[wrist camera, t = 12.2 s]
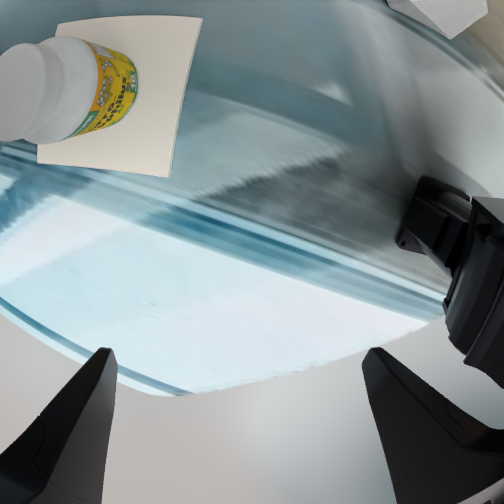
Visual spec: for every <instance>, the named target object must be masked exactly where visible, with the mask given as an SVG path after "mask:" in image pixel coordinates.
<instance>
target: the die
mask: <svg viewBox="0 0 504 504" xmlns="http://www.w3.org/2000/svg"><path fill="white" fill-rule="evenodd" d="M387 2H388V5H389V7H390V8H392V9H394V10H396V11H399V12H401V13H403V14H405V15H407V16H409V17H411V18H413V19H415V20H417V21H419V22H421V23H423V24H424V25H426V26H428V27H430V28H432V29H433V30H435V31H437V32H439V33H440V34H442V35H444V36H445V37H447V38H449V39H450V40H451V39H452V38H454V37H455V36H456V35H458V34H459V33H460V32H462V31H463V30H464V29H466V28H467V27H469V26H470V25H471V24H473V23H474V22H476V21H477V20H478V19H480V18H481V17H483V16H484V15H486V14H487V13H488V8H487V0H387Z"/></svg>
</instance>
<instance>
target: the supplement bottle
mask: <svg viewBox="0 0 504 504" xmlns="http://www.w3.org/2000/svg"><path fill="white" fill-rule="evenodd" d="M139 90H140V77H139V72H138V69H137V67H136V65H135V63H134V62H133V61H132V60H131V59H130V58H129V57H127V56H126V55H124V54H122V53H119V52H117V51H114V50H112V49H109V48H106V47H103V46H101V45H98V44H95V43H92V42H89V41H86V40H83V39H80V38H76V37H72V36H56V37H52V38H49V39H46V40H44V41H42V42H40V43H39V44H30V43H23V44H18V45H15V46H13V47H11V48H10V49H8V50H7V51H6V52H5V53H3V54H2V55H1V56H0V141H4V142H8V141H14V140H18V139H22V138H23V139H25V140H27V141H28V142H31V143H34V144H40V145H43V144H51V143H56V142H60V141H63V140H65V139H68V138H71V137H75V136H78V135H82V134H85V133H89V132H93V131H96V130H100V129H104V128H107V127H110V126H113V125H115V124H117V123H119V122H120V121H122V120H123V119H124V118H125V117H126V116H127V115H128V114H129V113H130V111H131V110H132V109H133V107H134V105H135V103H136V101H137V99H138V96H139Z"/></svg>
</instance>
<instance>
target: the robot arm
mask: <svg viewBox="0 0 504 504" xmlns="http://www.w3.org/2000/svg"><path fill="white" fill-rule="evenodd" d="M425 180H427V181H426V183H425ZM465 199H466V200H465ZM402 241H403V243H402V244H401V242H402ZM396 244H397V246H398V247H399V248H401V249H404V250H408V251H412V252H416V253H420V254H424V255H428V256H429V257H430V258H431V259H432V260H433V261H434V262H435V263H436V264H437V265H438V266H439V267H440V268H441V269H442V270H443V271H444V272H445V273H446V274H447V275H448V276H449V277H450V278H451V279H452V282H451V285H450V288H449V290H448V293H447V296H446V298H444V301H443V303H442V306H443V309H444V312H445V315H446V320H445V323H446V325H447V328H448V331H449V333H450V334H449V336H448V338H449V340H450V341H451V343H452V344H453V345H454V347H455V348H457V350H459V351H460V352H461V353H462V354H464V355H465V356H466V357H465V359H464V361H463V362H464V364H466V365H469V366H472V367H475V368H477V369H479V370H481V371H483V372H484V373H486V374H487V375H488V376H490V377H491V378H492V379H493V380H494V381H495V382H496V383H497V384H498V385H499V386H500V387H501V388H503V389H504V199H500V198H489V197H477V196H472V201H471V203H470V197H469V196H468V195H466V194H464V193H462V192H460V191H458V190H456V189H454V188H452V187H450V186H448V185H446V184H444V183H442V182H440V181H438V180H436V179H433V178H431V177H429V176H427V175H422V176H421V178H420V180H419V183H418V186H417V189H416V192H415V195H414V197H413V200H412V203H411V206H410V208H409V211H408V214H407V216H406V219H405V221H404V224H403V226H402V229H401V231H400V234H399V236H398V239H397V241H396ZM362 370H363V375H364V380H365V385H366V389H367V394H368V399H369V403H370V406H371V409H372V412H373V416H374V419H375V422H376V426H377V429H378V432H379V436H380V439H381V443H382V446H383V450H384V453H385V457H386V461H387V465H388V468H389V472H390V476H391V480H392V484H393V488H394V492H395V497H396V501H397V504H504V429H502V430H499V429H493V428H490V427H488V426H486V425H485V424H483V423H481V422H480V421H478V420H476V419H475V418H474V417H472V416H470V415H469V414H467V413H466V412H464V411H463V410H461V409H460V408H459V407H457V406H456V405H455V404H453V403H452V402H450V401H449V400H448V399H447V398H445V397H444V396H443V395H442V394H440V393H439V392H438V391H437V390H435V389H434V388H433V387H431V386H430V385H429V384H428V383H426V382H425V381H424V380H422V379H421V378H420V377H419V376H417V375H416V374H415V373H413V372H412V371H411V370H410V369H408V368H407V367H406V366H404V365H403V364H402V363H401V362H399V361H398V360H397V359H396V358H394V357H393V356H392V355H390V354H389V353H388V352H387V351H385V350H384V349H383V348H381V347H374V348H371V349H369V351H368V353H367V355H366V356H365V358H364V360H363V362H362ZM117 371H118V366H117V362H116V359H115V355H114V352H113V350H112V349H111V348H104V347H101V348H99V349H98V350H97V351H96V352H95V353H94V354H93V355H92V356H91V358H90V359H89V360H88V361H87V362H86V363H85V364H84V365H83V366H82V367H81V368H80V370H79V371H78V372H77V373H76V374H75V375H74V376H73V377H72V378H71V379H70V380H69V382H68V383H67V384H66V385H65V386H64V387H63V388H62V390H60V392H59V393H58V394H57V395H56V396H55V397H54V398H53V400H52V401H51V402H50V403H49V404H48V405H47V406H46V407H45V409H44V410H43V411H42V412H41V413H40V416H38V417H37V418H36V419H35V420H34V421H33V422H32V424H31V425H30V426H29V427H28V428H27V429H26V430H25V431H24V432H23V433H22V434H21V435H20V436H19V437H18V438H17V439H16V441H14V442H13V443H12V444H11V445H10V446H9V447H8V448H7V449H6V450H5V451H3V453H1V454H0V504H101V502H102V491H103V481H104V472H105V464H106V456H107V449H108V442H109V436H110V430H111V424H112V419H113V413H114V405H115V392H116V381H117Z"/></svg>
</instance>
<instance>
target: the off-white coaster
mask: <svg viewBox="0 0 504 504" xmlns="http://www.w3.org/2000/svg"><path fill="white" fill-rule="evenodd" d="M202 24H203V19H202V18H196V17H184V16H160V15H139V16H116V17H104V18H94V19H86V20H79V21H72V22H66V23H61V24H58V27H57V30H56V34H55V37H56V36H72V37H76V38H80V39H83V40H86V41H89V42H92V43H95V44H98V45H101V46H103V47H106V48H109V49H112V50H114V51H117V52H119V53H122V54H124V55H126V56H127V57H129V58H130V59H131V60H132V61H133V62H134V63H135V65H136V67H137V69H138V72H139V77H140V90H139V96H138V99H137V101H136V103H135V105H134V107H133V109H132V110H131V111H130V113H129V114H128V115H127V116H126V117H125V118H124V119H123V120H122V121H120V122H119V123H117V124H115V125H113V126H110V127H107V128H104V129H100V130H96V131H93V132H89V133H85V134H82V135H78V136H75V137H71V138H68V139H65V140H63V141H60V142H56V143H51V144H43V145H40V144H38V151H37V163H43V164H56V165H68V166H79V167H89V168H98V169H107V170H116V171H124V172H132V173H139V174H146V175H154V176H160V177H167V178H168V177H169V176H170V174H171V167H172V161H173V155H174V148H175V142H176V137H177V131H178V126H179V120H180V115H181V110H182V105H183V100H184V96H185V91H186V86H187V82H188V78H189V73H190V69H191V65H192V61H193V57H194V53H195V49H196V46H197V42H198V38H199V35H200V31H201V28H202Z"/></svg>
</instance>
